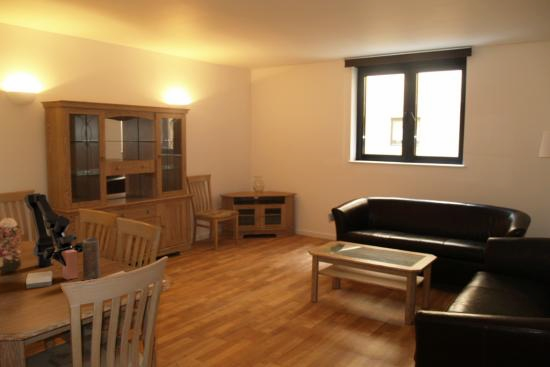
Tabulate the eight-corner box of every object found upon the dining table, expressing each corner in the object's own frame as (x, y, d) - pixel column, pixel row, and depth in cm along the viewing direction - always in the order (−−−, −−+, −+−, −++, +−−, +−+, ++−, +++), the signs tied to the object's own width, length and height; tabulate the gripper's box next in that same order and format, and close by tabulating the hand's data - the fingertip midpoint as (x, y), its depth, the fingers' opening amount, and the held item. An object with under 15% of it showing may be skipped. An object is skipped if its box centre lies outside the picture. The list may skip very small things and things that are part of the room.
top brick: (62, 277, 217) (62, 251, 216) (73, 275, 221) (72, 249, 220) (67, 279, 214) (66, 253, 212) (77, 277, 217) (77, 251, 216)
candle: (103, 278, 216) (101, 237, 214) (92, 283, 209) (90, 241, 207) (90, 277, 219) (88, 236, 216) (79, 281, 212) (77, 240, 209)
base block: (28, 281, 212) (28, 273, 212) (52, 278, 216) (52, 270, 215) (26, 288, 203) (26, 279, 202) (51, 285, 207) (50, 276, 206)
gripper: (44, 231, 210) (55, 259, 204) (83, 225, 224) (95, 251, 218) (38, 245, 216) (49, 272, 210) (77, 238, 230) (88, 263, 224)
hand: (71, 264), depth 216 cm, fingers closed on top brick, 5 cm apart
